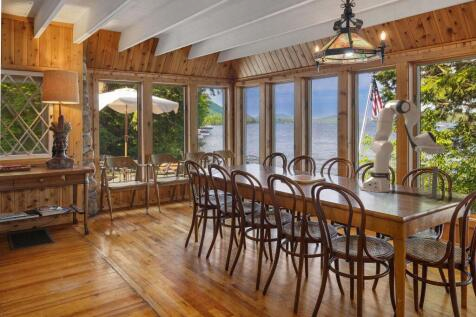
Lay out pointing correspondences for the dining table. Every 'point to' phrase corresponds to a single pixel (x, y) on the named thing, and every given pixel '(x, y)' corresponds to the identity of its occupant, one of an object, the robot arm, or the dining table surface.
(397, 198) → the dining table surface
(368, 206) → the dining table surface
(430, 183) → the link
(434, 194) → the stand
